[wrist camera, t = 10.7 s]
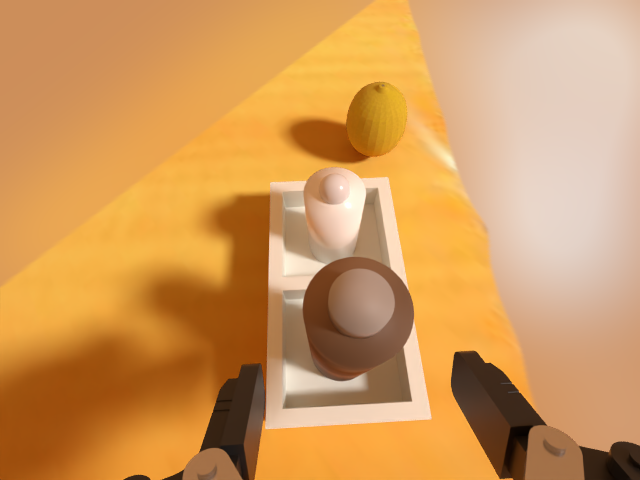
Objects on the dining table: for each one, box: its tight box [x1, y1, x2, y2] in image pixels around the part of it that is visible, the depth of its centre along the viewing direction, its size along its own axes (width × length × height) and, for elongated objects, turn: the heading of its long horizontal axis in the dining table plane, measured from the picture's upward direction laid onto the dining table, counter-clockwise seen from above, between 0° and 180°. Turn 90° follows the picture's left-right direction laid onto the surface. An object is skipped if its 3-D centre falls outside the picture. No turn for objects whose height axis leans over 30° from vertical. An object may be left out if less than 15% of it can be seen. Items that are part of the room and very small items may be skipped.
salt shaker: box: [303, 167, 366, 264], centre depth 23 cm, size 4×4×9 cm
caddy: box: [266, 177, 432, 429], centre depth 25 cm, size 18×10×4 cm, turn 3°
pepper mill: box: [303, 257, 414, 381], centre depth 17 cm, size 4×4×13 cm
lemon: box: [346, 82, 407, 157], centre depth 30 cm, size 6×6×8 cm
